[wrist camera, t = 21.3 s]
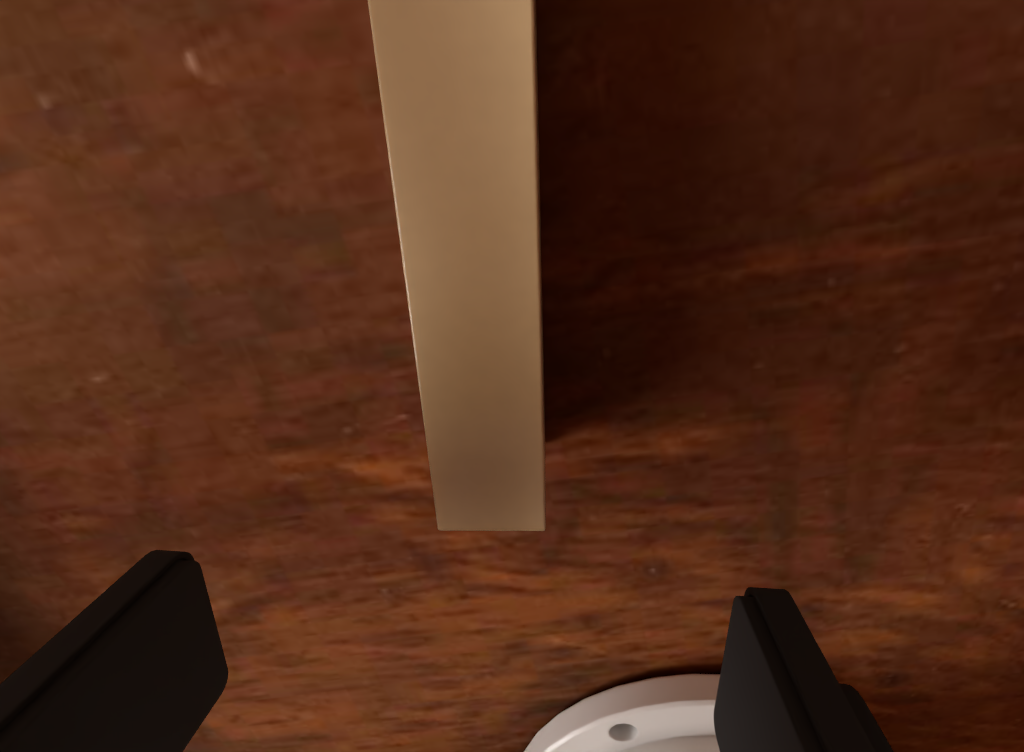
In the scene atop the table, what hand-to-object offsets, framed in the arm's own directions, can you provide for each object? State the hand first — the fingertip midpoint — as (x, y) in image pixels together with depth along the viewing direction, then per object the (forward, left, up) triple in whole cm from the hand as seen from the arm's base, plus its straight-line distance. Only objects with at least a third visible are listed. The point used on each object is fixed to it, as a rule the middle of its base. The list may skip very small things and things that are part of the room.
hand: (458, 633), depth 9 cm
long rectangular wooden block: (0, -6, -5) cm, 8 cm away
